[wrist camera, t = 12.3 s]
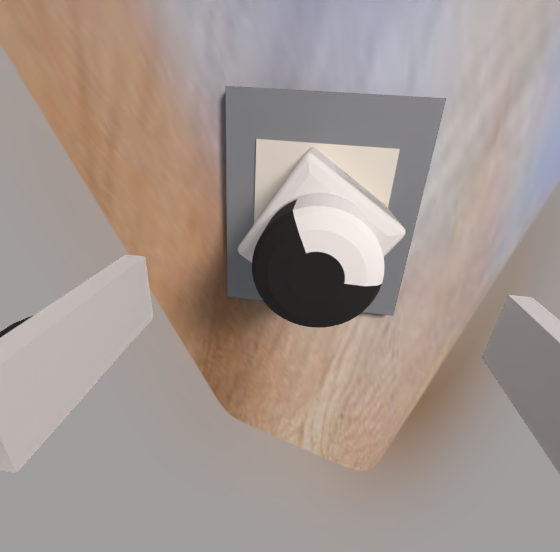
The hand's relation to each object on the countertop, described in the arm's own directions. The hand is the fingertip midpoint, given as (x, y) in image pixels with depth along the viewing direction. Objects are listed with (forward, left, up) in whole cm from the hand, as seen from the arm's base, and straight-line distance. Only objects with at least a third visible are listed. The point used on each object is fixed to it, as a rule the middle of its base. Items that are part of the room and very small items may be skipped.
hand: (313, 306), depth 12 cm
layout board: (0, 0, -18) cm, 18 cm away
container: (0, 0, -17) cm, 17 cm away
